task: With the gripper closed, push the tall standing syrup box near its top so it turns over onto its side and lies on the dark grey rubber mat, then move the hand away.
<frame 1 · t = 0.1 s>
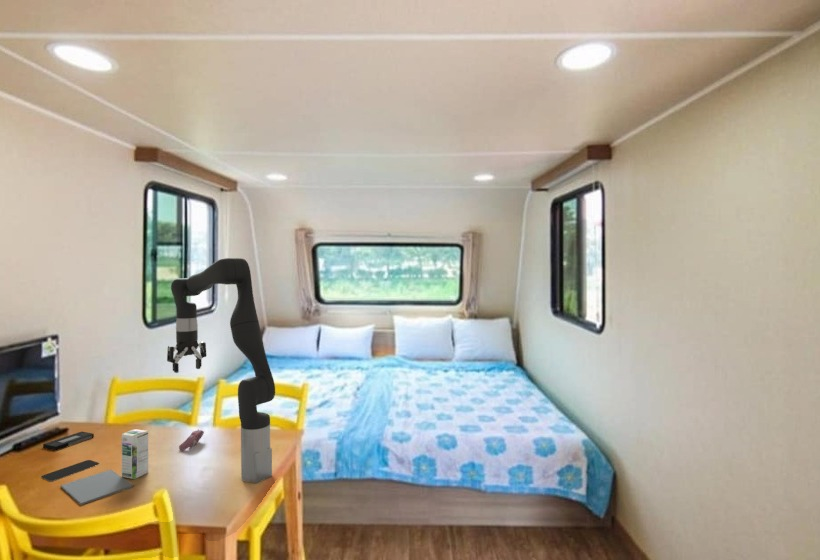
hand: (187, 370, 177), 29 cm above the table, tool pointing down, fingers open, 8 cm apart
smartphone: (71, 472, 155), on the table
syrup box: (135, 475, 151), on the table
vhs tape: (69, 444, 179), on the table
mat: (97, 486, 143), on the table
purple-brown oblong lump: (192, 446, 176), on the table
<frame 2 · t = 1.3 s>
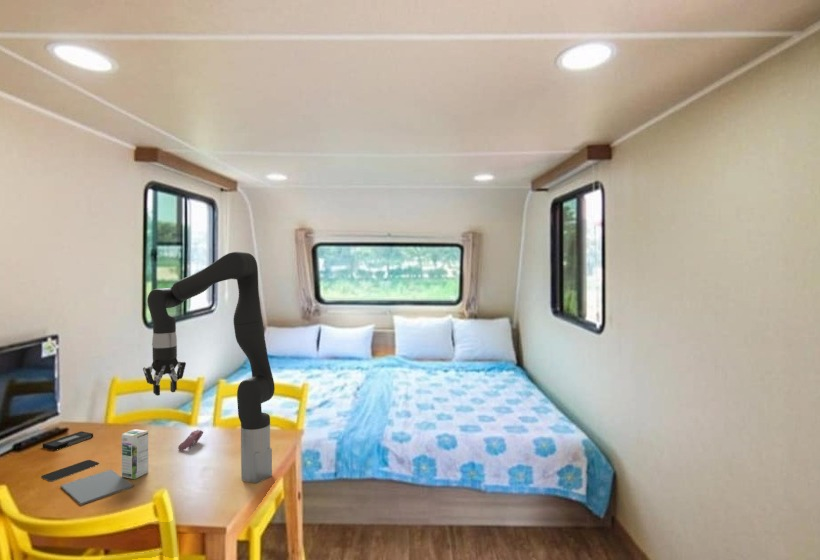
hand: (165, 393, 159), 25 cm above the table, tool pointing down, fingers open, 4 cm apart
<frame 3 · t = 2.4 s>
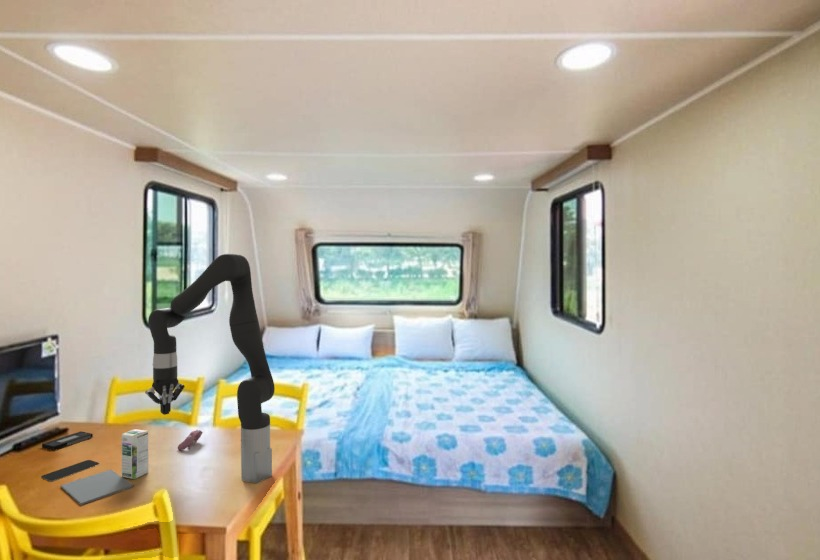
hand: (165, 413, 159), 18 cm above the table, tool pointing down, fingers closed
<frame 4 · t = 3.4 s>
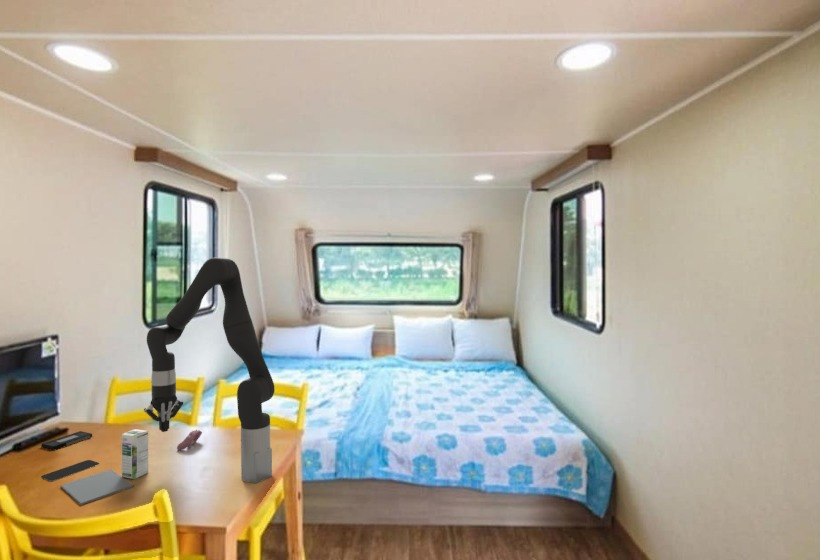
hand: (164, 431, 159), 12 cm above the table, tool pointing down, fingers closed
nothing on the table moved.
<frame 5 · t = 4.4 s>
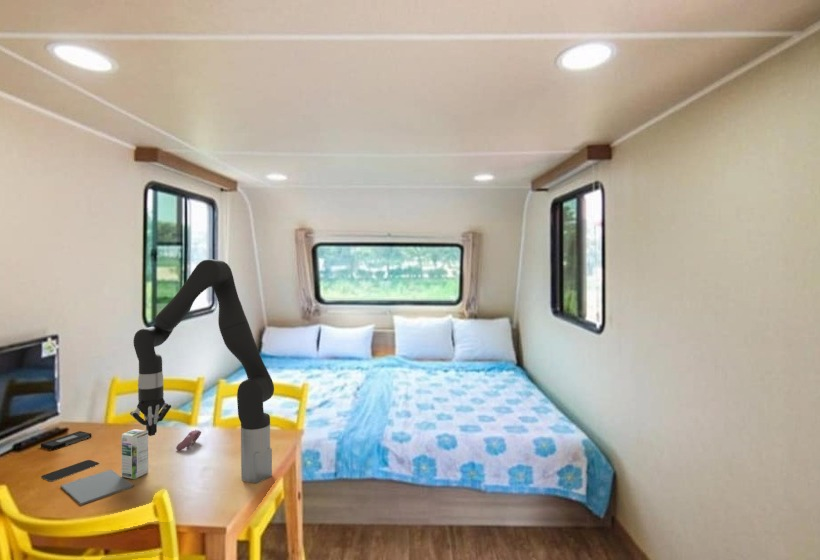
hand: (151, 434, 156), 12 cm above the table, tool pointing down, fingers closed
syrup box: (135, 475, 151), on the table, touching gripper
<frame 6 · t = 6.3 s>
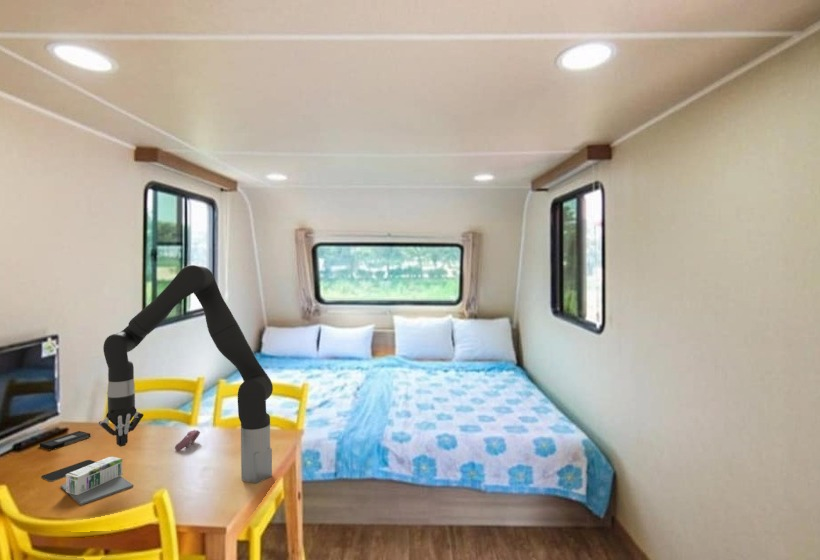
hand: (122, 445, 148), 11 cm above the table, tool pointing down, fingers closed
syrup box: (117, 465, 151), point 3 cm above the table, touching mat
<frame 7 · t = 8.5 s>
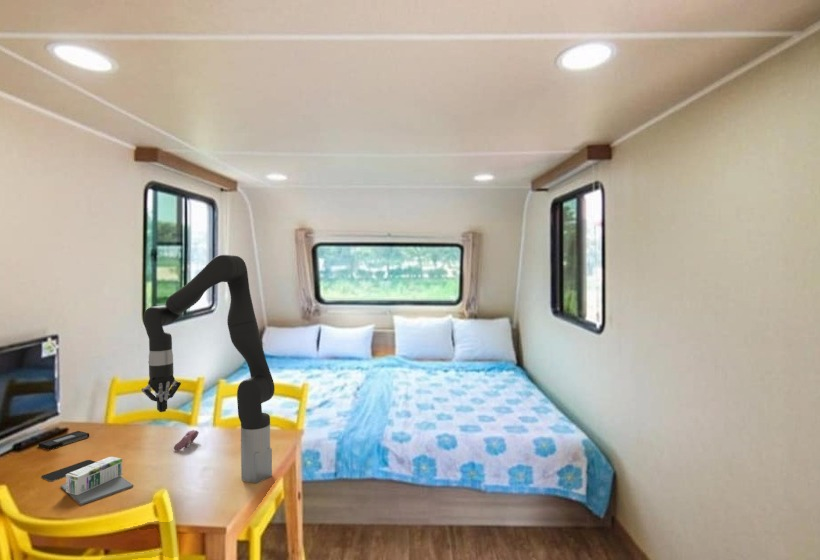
hand: (162, 411, 159), 19 cm above the table, tool pointing down, fingers closed
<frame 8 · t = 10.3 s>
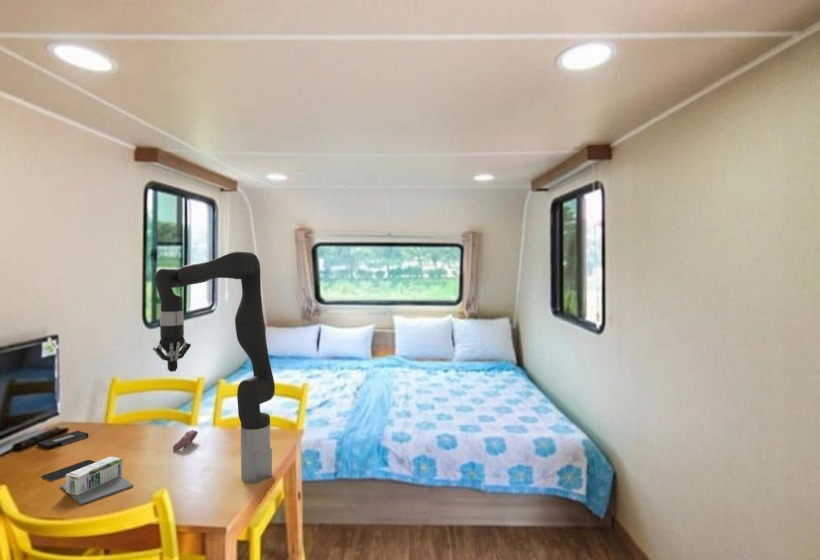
hand: (172, 371, 164), 32 cm above the table, tool pointing down, fingers closed
at the end: syrup box tilted 90°; syrup box touching mat; syrup box inside the target area (6.8 cm from its centre), point 3.4 cm above the table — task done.
